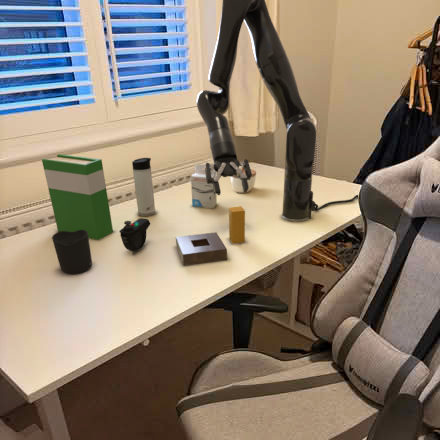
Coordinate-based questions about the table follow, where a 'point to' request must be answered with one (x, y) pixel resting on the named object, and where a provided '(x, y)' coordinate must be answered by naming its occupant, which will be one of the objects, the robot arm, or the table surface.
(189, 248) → the walnut stand
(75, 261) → the pen holder
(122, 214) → the table surface
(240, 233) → the ochre peg
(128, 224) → the controller
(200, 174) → the ink box
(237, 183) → the trinket box
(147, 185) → the travel mug
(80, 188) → the hardback book
